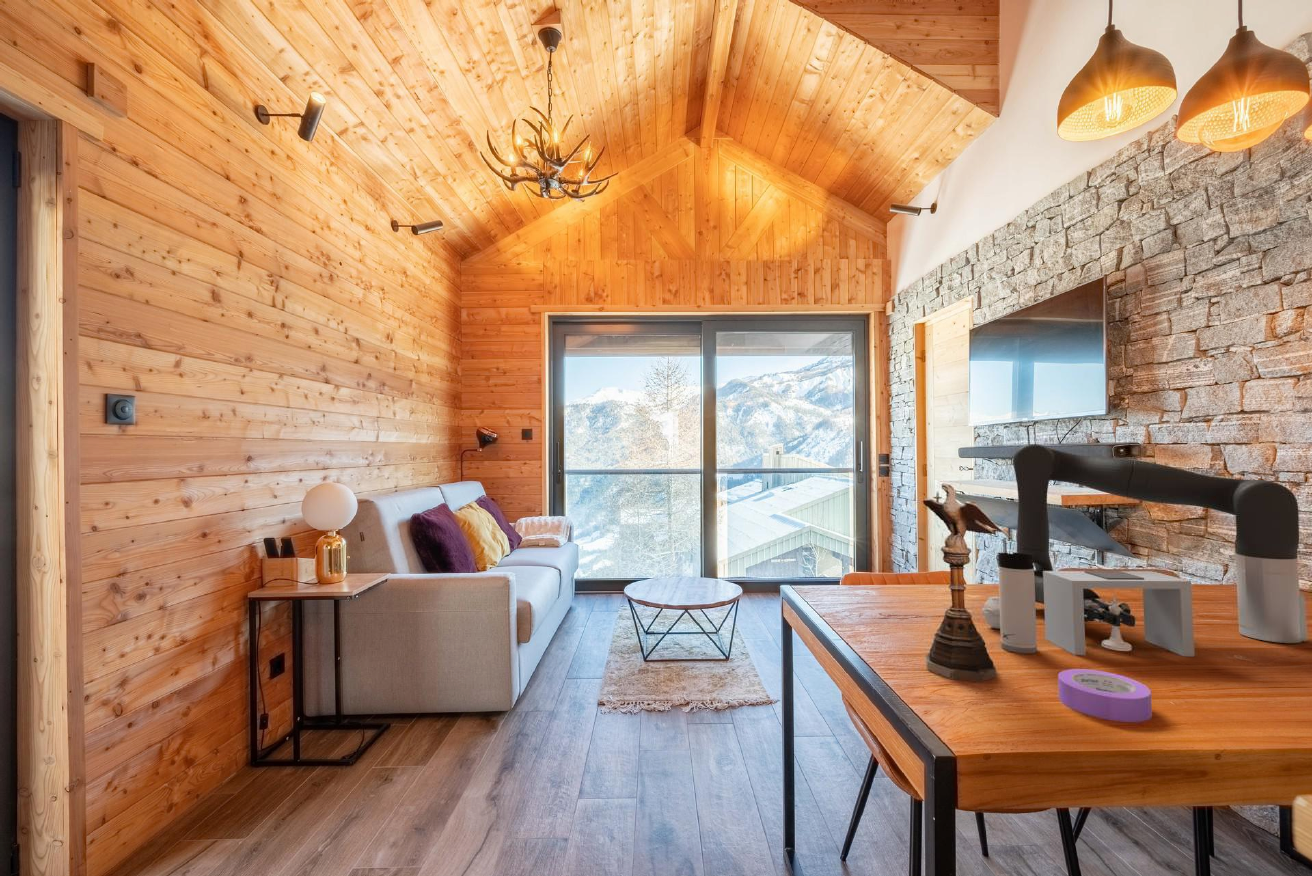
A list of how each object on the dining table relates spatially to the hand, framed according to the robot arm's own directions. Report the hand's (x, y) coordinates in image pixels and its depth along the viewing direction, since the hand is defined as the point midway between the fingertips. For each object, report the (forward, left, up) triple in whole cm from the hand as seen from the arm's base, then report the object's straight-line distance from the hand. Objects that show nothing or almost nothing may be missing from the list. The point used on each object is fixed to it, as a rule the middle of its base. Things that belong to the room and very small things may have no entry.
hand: (1125, 621), depth 117 cm
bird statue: (+35, +9, -6) cm, 37 cm away
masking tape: (+21, +26, -6) cm, 34 cm away
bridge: (0, -3, -6) cm, 7 cm away
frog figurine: (+17, -16, -6) cm, 24 cm away
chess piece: (0, -3, -6) cm, 7 cm away
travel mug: (+20, -1, -6) cm, 21 cm away
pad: (0, -3, +8) cm, 9 cm away
